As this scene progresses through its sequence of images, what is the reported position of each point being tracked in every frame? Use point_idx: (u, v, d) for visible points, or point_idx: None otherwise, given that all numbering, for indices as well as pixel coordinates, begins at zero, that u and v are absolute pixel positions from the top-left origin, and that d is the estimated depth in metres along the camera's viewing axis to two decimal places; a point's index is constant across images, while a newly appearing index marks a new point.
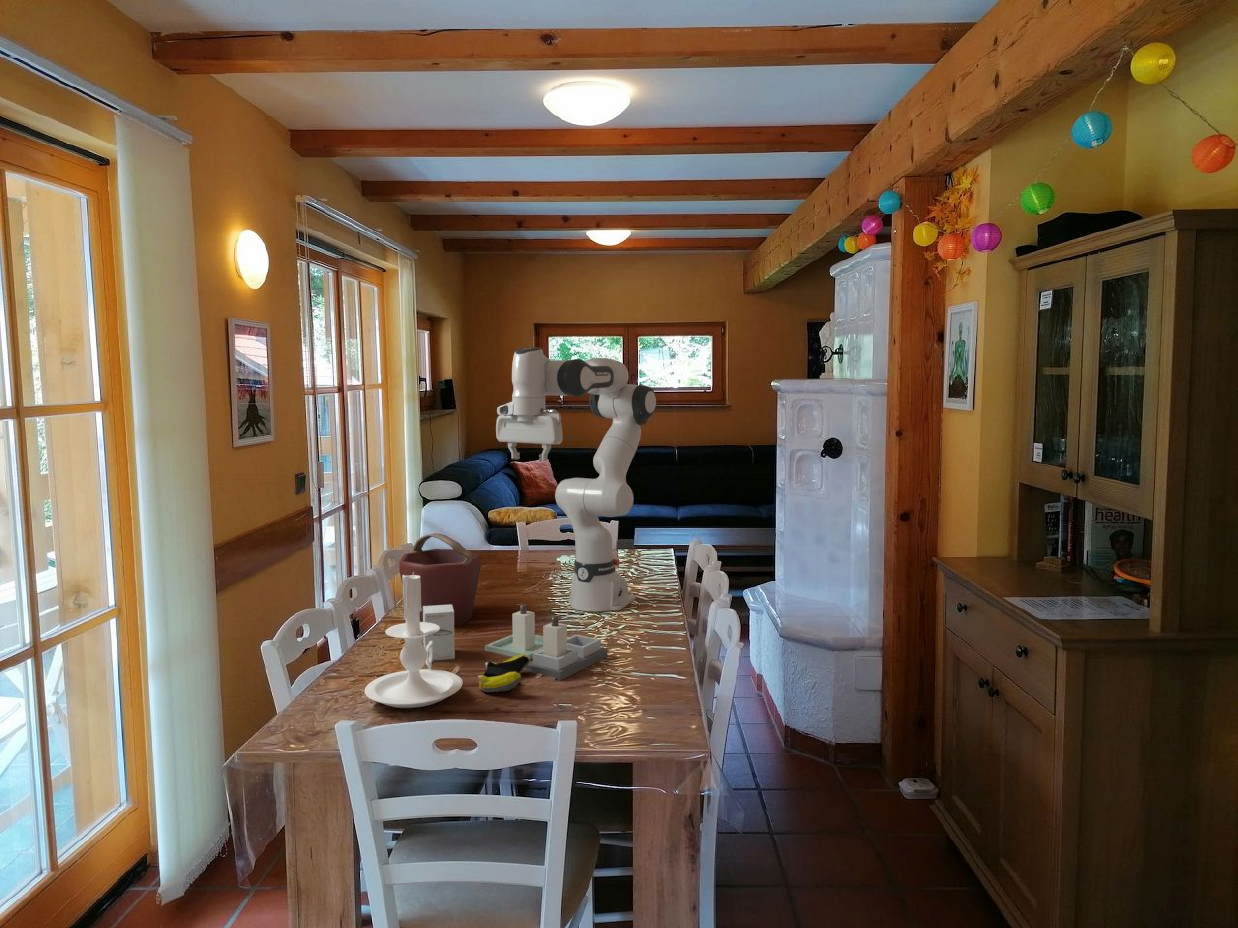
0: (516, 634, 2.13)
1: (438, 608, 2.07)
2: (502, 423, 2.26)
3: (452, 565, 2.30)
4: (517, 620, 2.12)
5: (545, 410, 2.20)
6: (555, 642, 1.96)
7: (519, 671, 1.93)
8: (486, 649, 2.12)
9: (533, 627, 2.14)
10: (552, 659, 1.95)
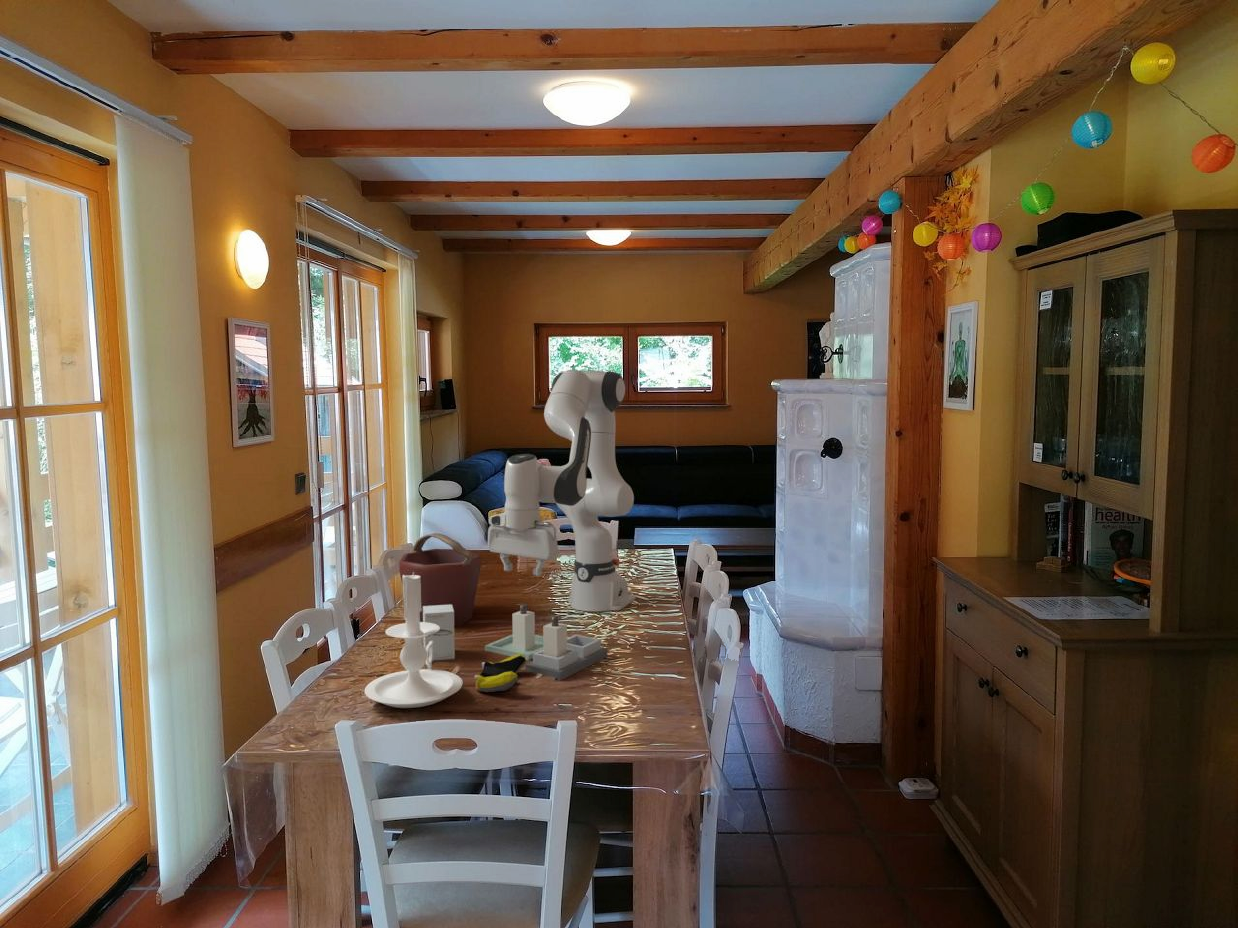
0: (516, 634, 2.13)
1: (438, 608, 2.07)
2: (494, 533, 2.14)
3: (452, 565, 2.30)
4: (517, 620, 2.12)
5: (539, 523, 2.08)
6: (555, 642, 1.96)
7: (516, 671, 1.93)
8: (486, 649, 2.12)
9: (533, 627, 2.14)
10: (552, 659, 1.95)
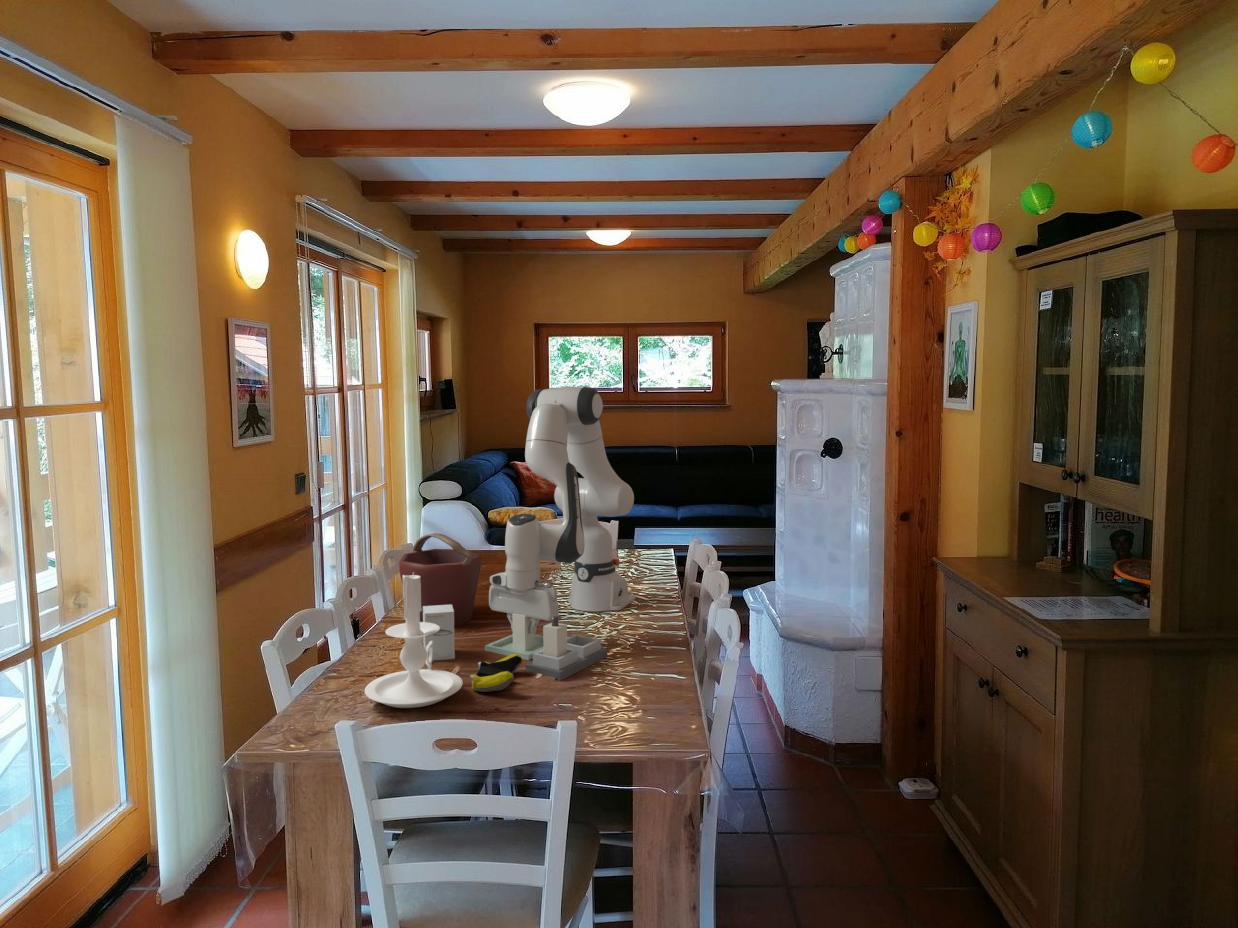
0: (516, 634, 2.13)
1: (438, 608, 2.07)
2: (495, 592, 2.16)
3: (452, 565, 2.30)
4: (517, 620, 2.12)
5: (540, 583, 2.09)
6: (555, 642, 1.96)
7: (512, 671, 1.93)
8: (486, 649, 2.12)
9: None
10: (552, 659, 1.95)
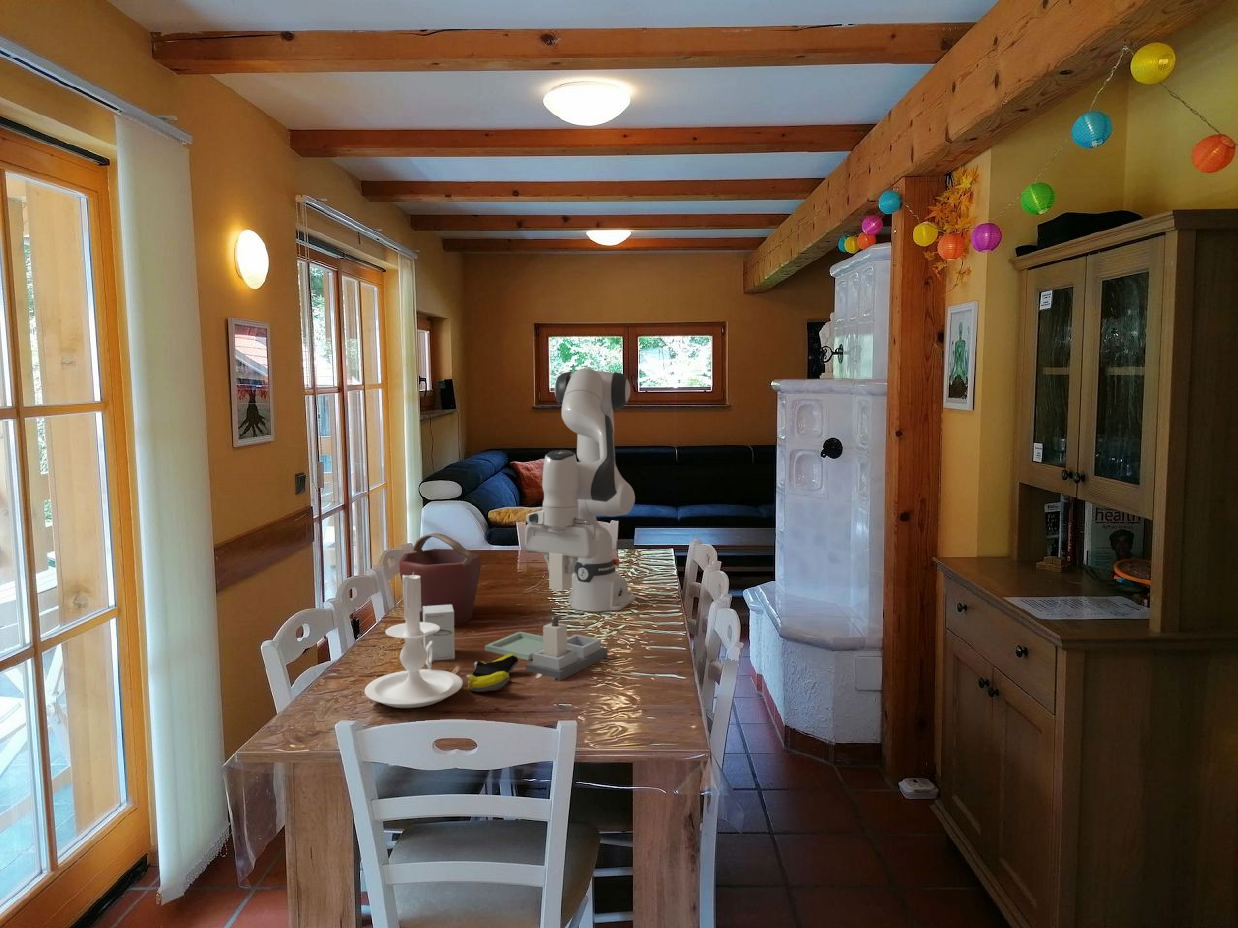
0: (553, 574, 2.06)
1: (438, 608, 2.07)
2: (531, 531, 2.09)
3: (452, 565, 2.30)
4: (554, 559, 2.05)
5: (578, 520, 2.02)
6: (555, 642, 1.96)
7: (508, 671, 1.93)
8: (486, 649, 2.12)
9: None
10: (552, 659, 1.95)
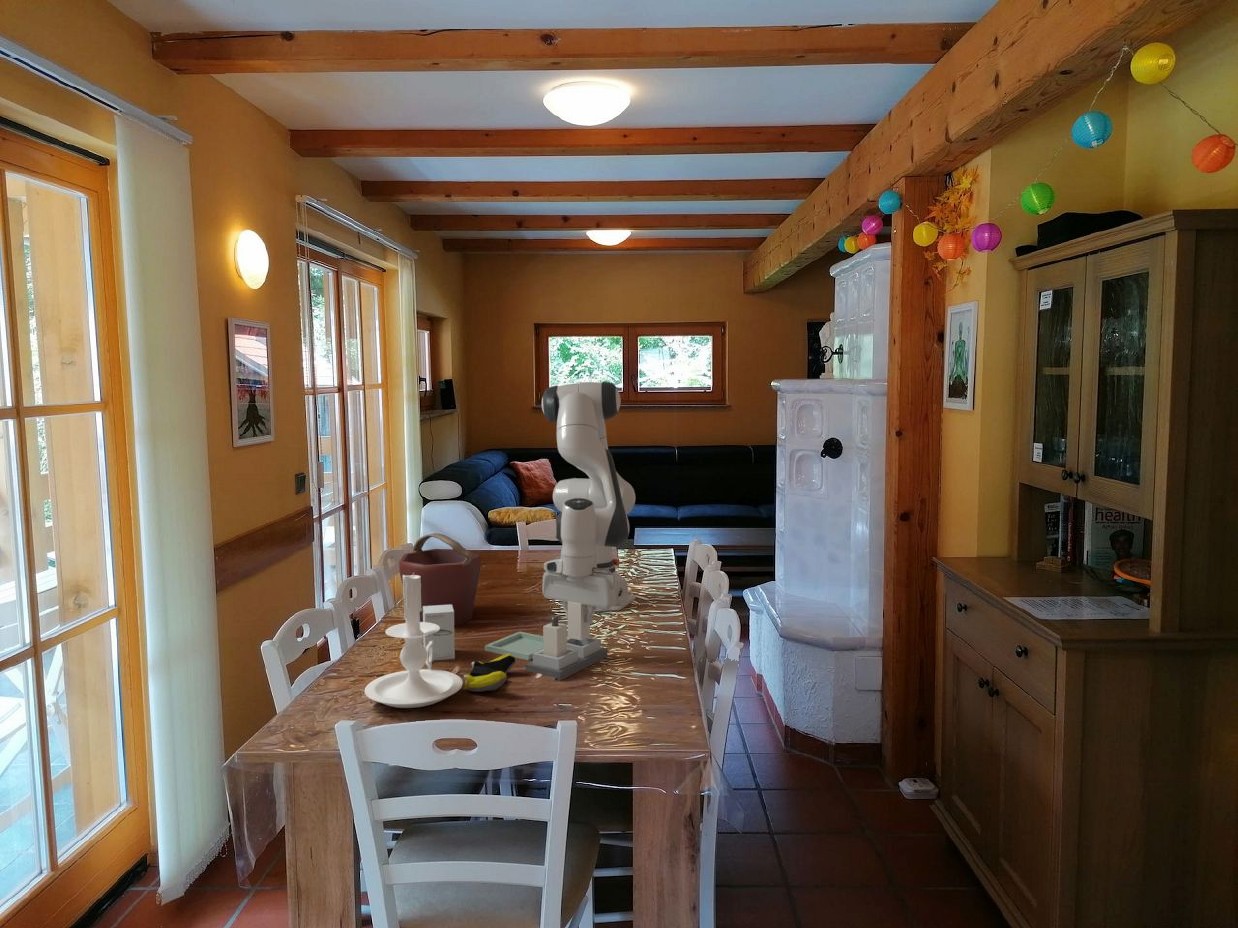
0: (571, 623, 2.05)
1: (438, 608, 2.07)
2: (549, 579, 2.08)
3: (452, 565, 2.30)
4: (573, 608, 2.05)
5: (597, 570, 2.02)
6: (555, 642, 1.96)
7: (505, 671, 1.93)
8: (486, 649, 2.12)
9: None
10: (552, 659, 1.95)
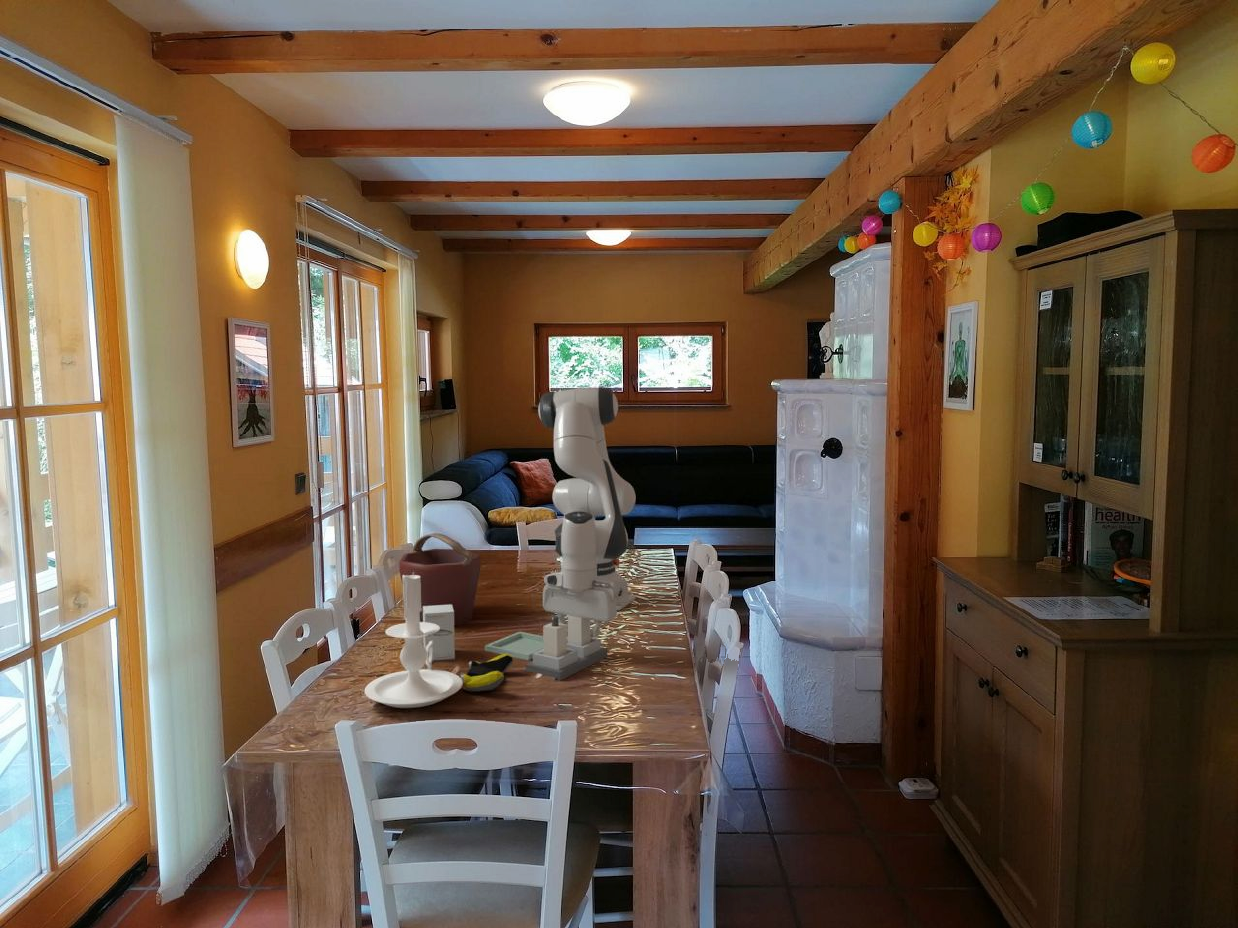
0: (572, 637, 2.06)
1: (438, 608, 2.07)
2: (549, 592, 2.09)
3: (452, 565, 2.30)
4: (573, 622, 2.05)
5: (598, 583, 2.02)
6: (555, 642, 1.96)
7: (503, 670, 1.93)
8: (486, 649, 2.12)
9: (589, 630, 2.07)
10: (552, 659, 1.95)
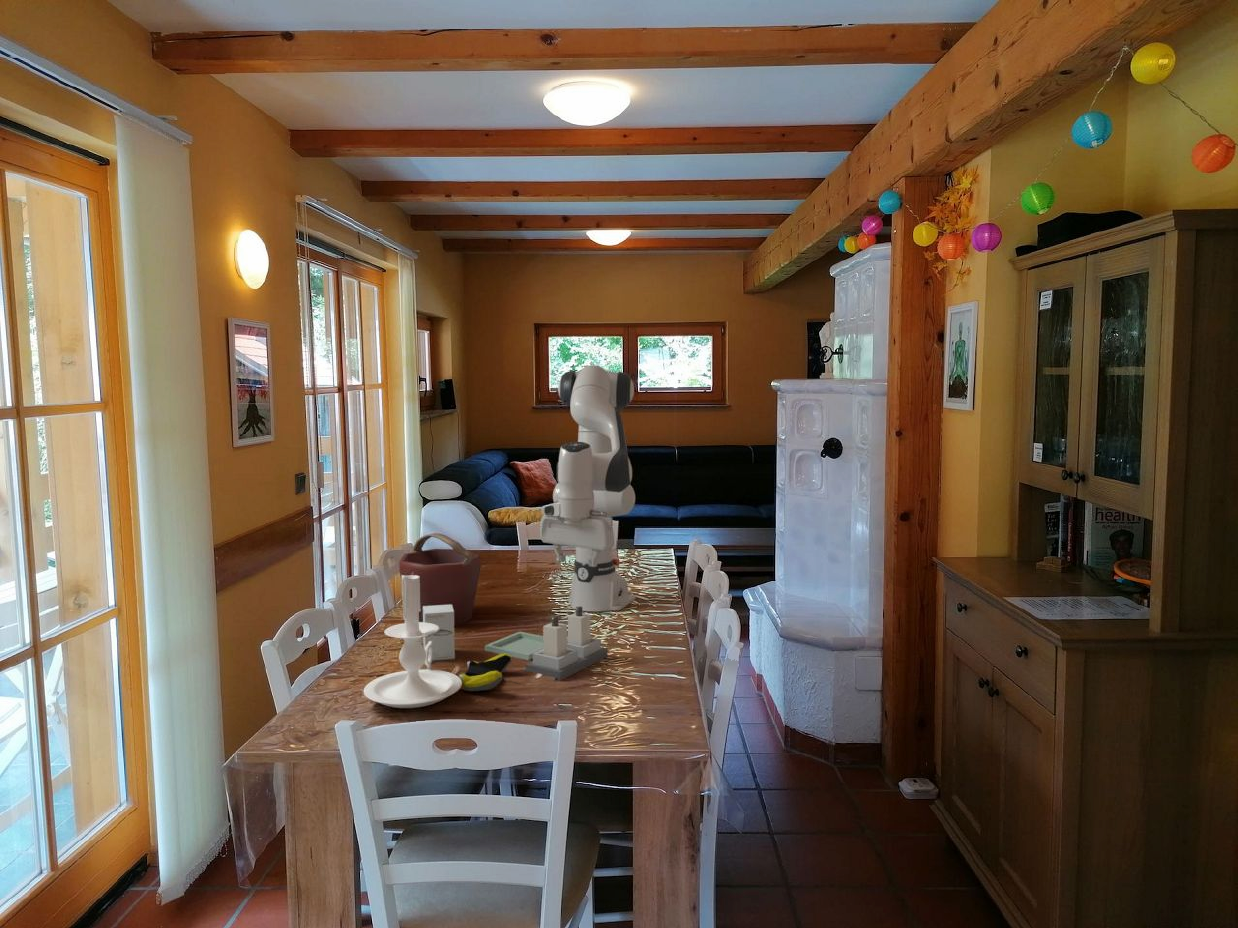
0: (572, 637, 2.06)
1: (438, 608, 2.07)
2: (546, 523, 2.09)
3: (452, 565, 2.30)
4: (573, 622, 2.05)
5: (595, 512, 2.02)
6: (555, 642, 1.96)
7: (501, 670, 1.93)
8: (486, 649, 2.12)
9: (589, 630, 2.07)
10: (552, 659, 1.95)
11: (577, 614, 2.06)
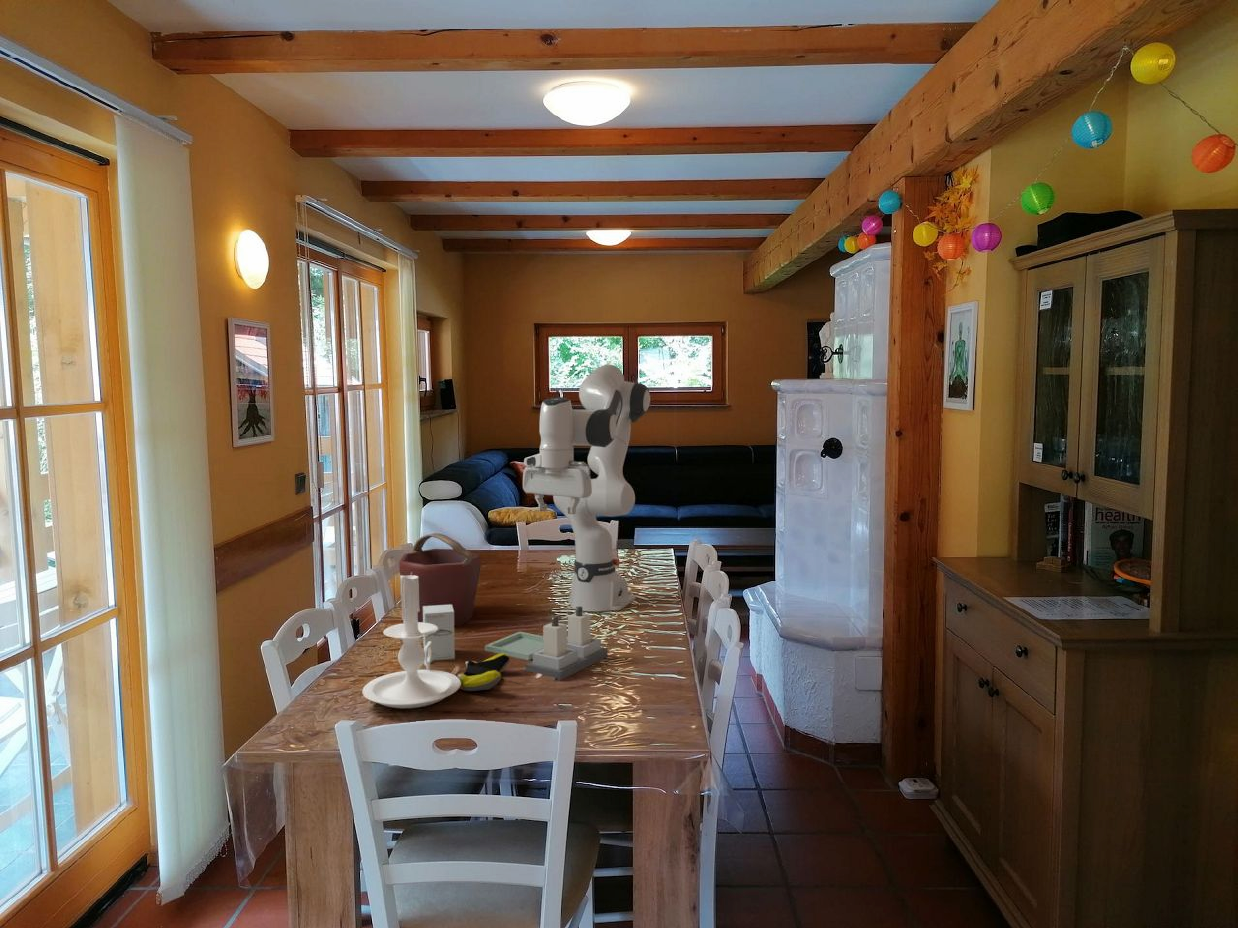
0: (572, 637, 2.06)
1: (438, 608, 2.07)
2: (529, 475, 2.22)
3: (452, 565, 2.30)
4: (573, 622, 2.05)
5: (574, 462, 2.15)
6: (555, 642, 1.96)
7: (499, 670, 1.94)
8: (486, 649, 2.12)
9: (589, 630, 2.07)
10: (552, 659, 1.95)
11: (577, 614, 2.06)
